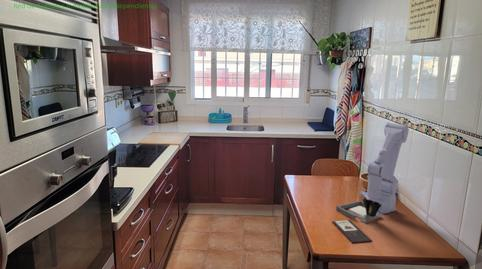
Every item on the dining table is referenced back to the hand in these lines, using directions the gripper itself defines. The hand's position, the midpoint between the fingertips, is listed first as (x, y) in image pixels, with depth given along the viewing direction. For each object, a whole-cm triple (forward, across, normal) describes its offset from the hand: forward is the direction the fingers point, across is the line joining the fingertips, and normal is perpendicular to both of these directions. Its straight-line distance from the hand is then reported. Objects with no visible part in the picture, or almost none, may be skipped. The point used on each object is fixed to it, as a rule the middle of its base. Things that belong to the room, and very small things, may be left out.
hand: (370, 214), depth 156 cm
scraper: (+2, 0, 0) cm, 2 cm away
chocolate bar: (+3, +5, -18) cm, 19 cm away
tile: (+2, -5, 0) cm, 6 cm away
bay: (+2, -8, 0) cm, 8 cm away
